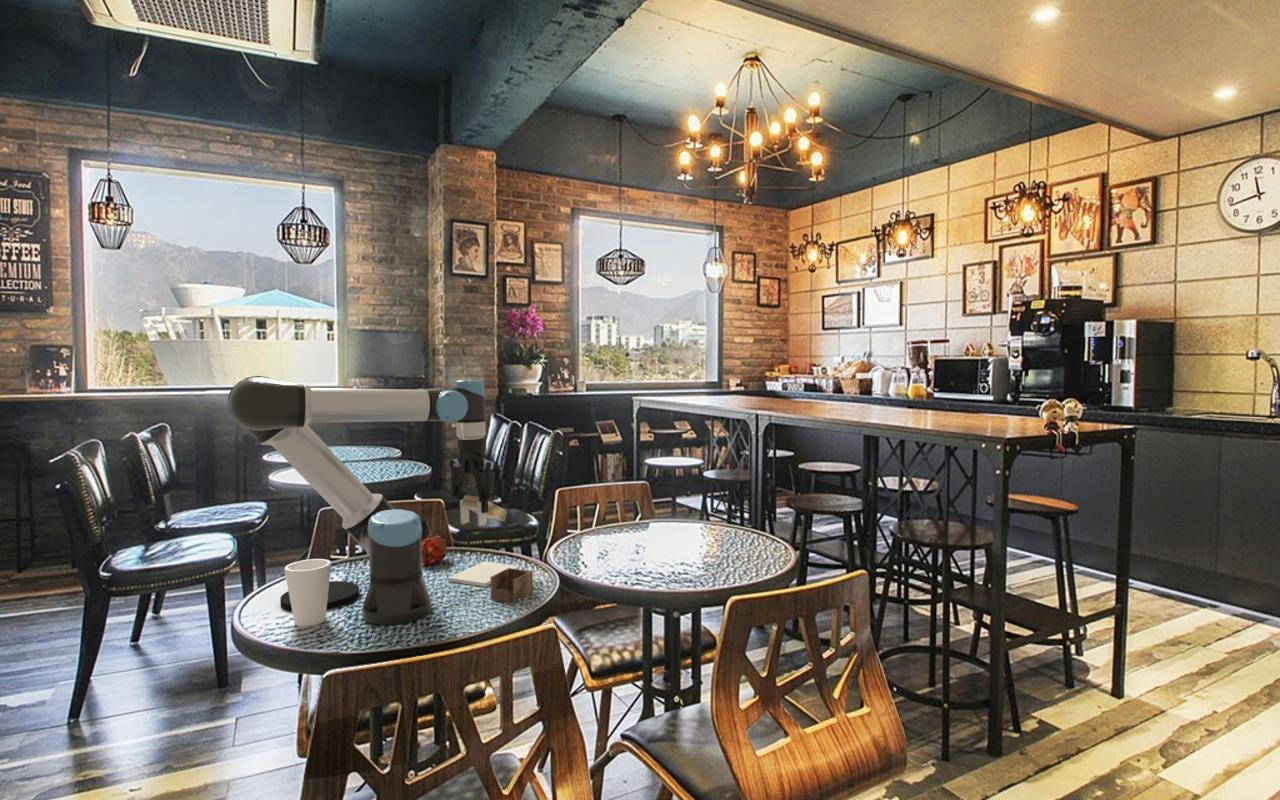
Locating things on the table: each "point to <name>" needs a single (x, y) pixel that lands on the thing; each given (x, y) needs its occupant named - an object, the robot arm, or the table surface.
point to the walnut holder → (511, 585)
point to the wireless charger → (331, 595)
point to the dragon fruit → (433, 550)
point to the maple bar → (493, 510)
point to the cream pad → (480, 573)
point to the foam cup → (308, 590)
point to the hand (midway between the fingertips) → (473, 523)
